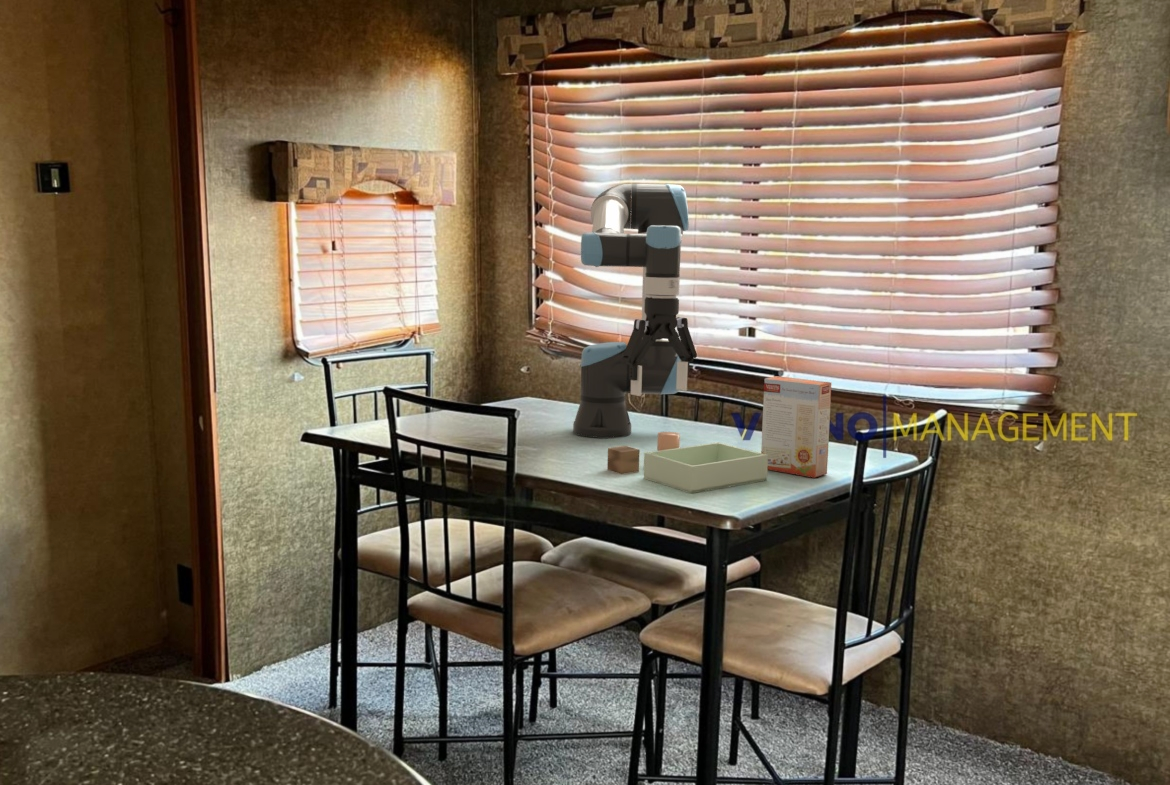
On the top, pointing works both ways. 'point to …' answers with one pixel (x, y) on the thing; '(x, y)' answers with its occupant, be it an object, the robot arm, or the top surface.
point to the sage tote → (705, 467)
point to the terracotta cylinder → (668, 440)
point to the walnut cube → (623, 459)
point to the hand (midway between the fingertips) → (659, 392)
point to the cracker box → (796, 425)
